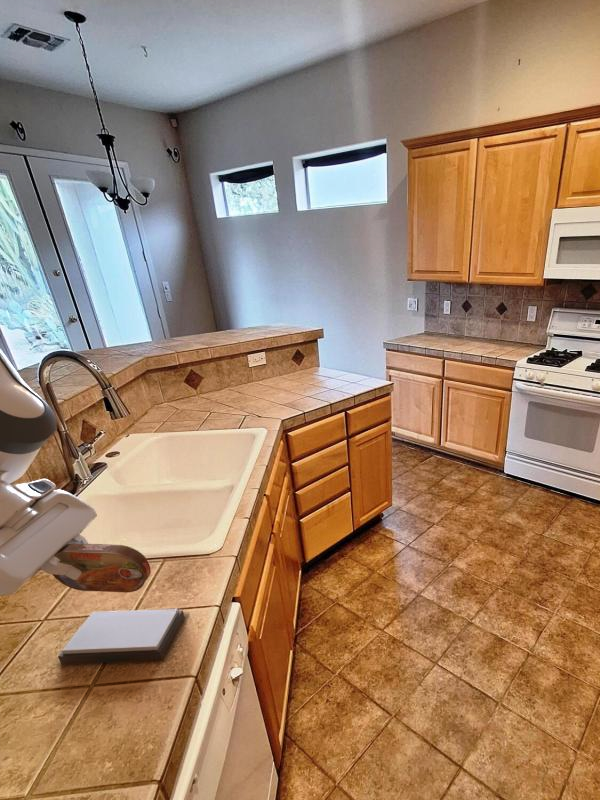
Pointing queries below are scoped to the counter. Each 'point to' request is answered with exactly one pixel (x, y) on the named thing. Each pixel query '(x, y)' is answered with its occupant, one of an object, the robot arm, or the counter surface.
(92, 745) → the counter surface
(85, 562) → the tin
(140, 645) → the scale
